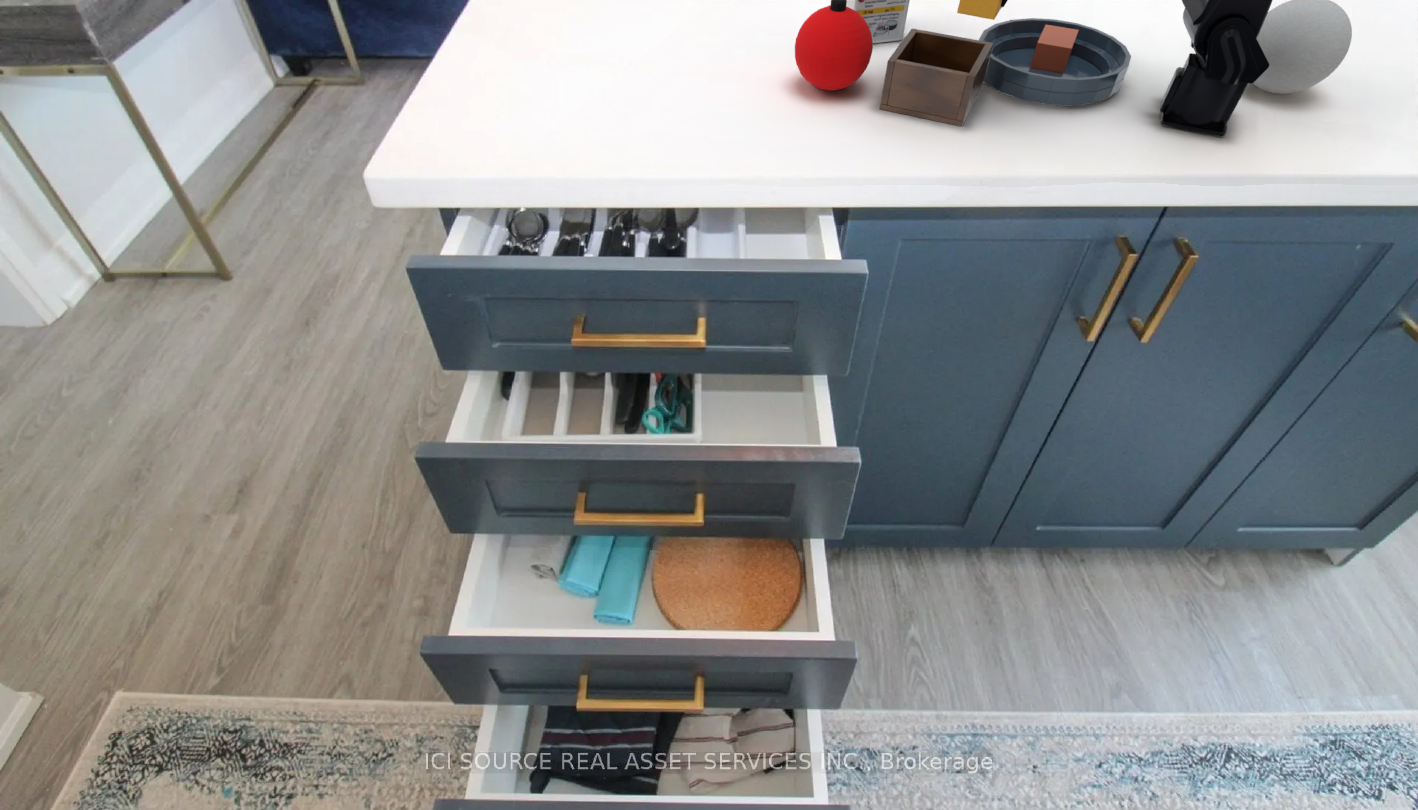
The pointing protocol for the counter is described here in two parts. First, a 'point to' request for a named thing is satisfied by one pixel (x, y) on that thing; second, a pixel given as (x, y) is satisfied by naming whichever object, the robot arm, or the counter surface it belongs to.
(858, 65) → the ornament
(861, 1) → the container
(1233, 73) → the robot arm
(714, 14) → the counter surface
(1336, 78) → the counter surface
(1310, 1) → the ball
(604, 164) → the counter surface
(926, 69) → the holder
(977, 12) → the yellow block
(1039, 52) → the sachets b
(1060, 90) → the bowl
